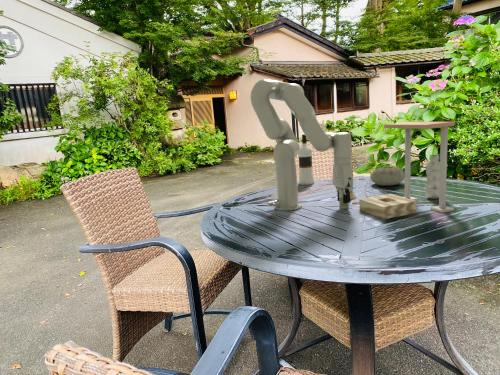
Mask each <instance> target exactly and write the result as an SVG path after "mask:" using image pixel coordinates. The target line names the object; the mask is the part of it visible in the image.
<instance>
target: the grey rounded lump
mask: <svg viewBox="0 0 500 375" xmlns="http://www.w3.org/2000/svg"><path fill="white" fill-rule="evenodd" d="M369 176H370V180H371V181H372V182H373V183H374V184H375V185H378V186H383V187H385V186H391V187H392V186H395V185H399V184H401V182H403V180H405V171H403V169H401V168H400V167H397V166H382V167H381V166H380V167H378V168H376V169H375V170H373V171H372V172H371V173H370V175H369Z"/></svg>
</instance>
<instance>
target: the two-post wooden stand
mask: <svg viewBox="0 0 500 375" xmlns="http://www.w3.org/2000/svg"><path fill="white" fill-rule="evenodd" d="M455 125H456V121H405V122H403V121H402V122H396V123H387V124H386V123H385V124H383V128H384V129H404V174H405V178H404V196H403V197H404V198H407V199H411V200H415V201H418V197H413V196H411V178H412V177H411V176H412V175H411V164H412V163H411V162H412V161H411V159H412V158H411V157H412V156H411V155H412V154H411V153H412V151H411V150H412V145H411V144H412V140H411V139H412V129H415V130H416V129H417V130H418V129H420V130H423V129H424V130H428V129H437V128H440V150H439V151H440V154H439V162H440V185H439V198H438V205H435V206H430V210H431V211H435V212H439V213H449V212H453V211H455V207H452V206H448V205H446V203H447V201H446V200H447V170H448V166H447V165H448V140H449V139H448V135H449V134H448V132H449V130H448V129H449V127H453V126H454V127H455Z"/></svg>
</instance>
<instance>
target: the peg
mask: <svg viewBox="0 0 500 375" xmlns="http://www.w3.org/2000/svg"><path fill="white" fill-rule="evenodd" d="M347 187H348V186H347ZM347 189H348V188H347ZM347 189H346V190H347ZM343 194H344V190H343V188H340V187H339V201H338V203H339V206H338V207H339V210H342V211H344V210H346V211H347V210H349V206H350V205H349V203H343Z"/></svg>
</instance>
